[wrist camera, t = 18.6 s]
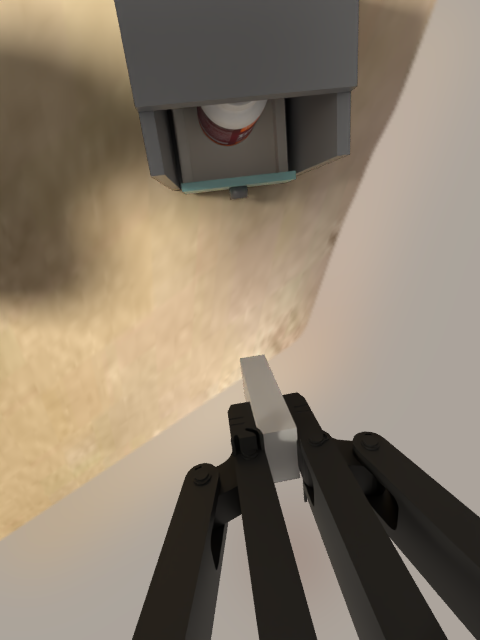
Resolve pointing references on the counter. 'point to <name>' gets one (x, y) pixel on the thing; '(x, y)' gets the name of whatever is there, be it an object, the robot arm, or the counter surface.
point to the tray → (233, 154)
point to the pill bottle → (229, 121)
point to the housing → (243, 69)
